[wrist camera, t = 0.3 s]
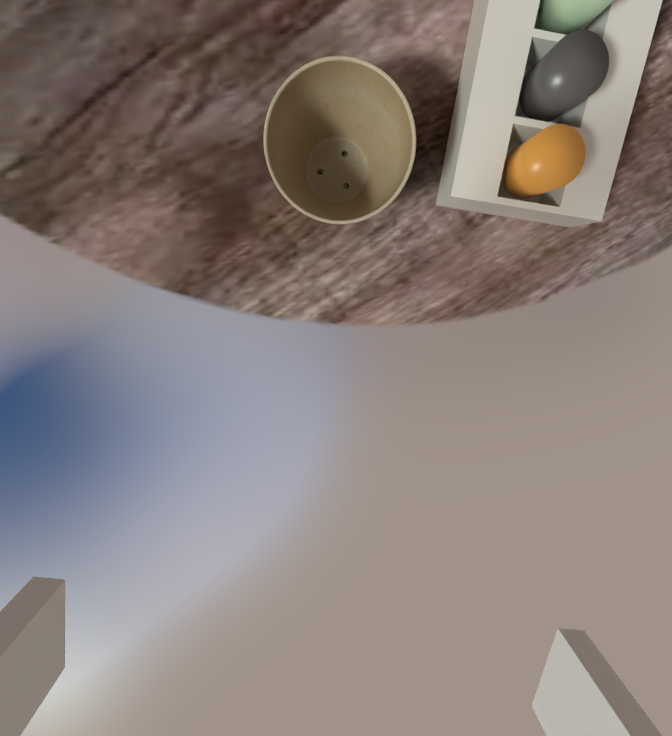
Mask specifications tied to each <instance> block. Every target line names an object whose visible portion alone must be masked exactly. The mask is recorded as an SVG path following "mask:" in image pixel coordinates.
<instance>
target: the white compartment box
mask: <svg viewBox="0 0 672 736" xmlns="http://www.w3.org/2000/svg"><path fill="white" fill-rule="evenodd" d="M662 1H663V0H614V1H613V2H612V3H611V4H610V5H609V6H608V7H606V8H605V9H604V10H603V11H602V12H601V13H600V14H599V15H598V16H597V17H596V18H595V19H594V20H593V21H592V22H590V23H589V24H588V25H587V26H586V27H585V28H584V29H583V30H589V31H592V32H594V33H596V34H597V35H599V36H600V37H601V38H602V40H603V41H604V43H605V44H606V47H607V49H608V53H609V68H608V72H607V75H606V78H605V80H604V82H603V83H602V85H601V86H600V87H599V89H598V90H597V91H596V92H594V93H593V94H592V95H590V96H589V97H587V98H586V99H584V100H583V101H581V102H580V103H578V104H577V105H575V106H574V107H572V108H571V109H569V110H568V111H566V112H565V113H563V114H562V115H560V116H559V117H557V118H556V119H554V120H552V121H549V122H545V121H540V120H534V119H530V118H528V117H527V116H526V115H525V113H524V112H523V110H522V108H521V105H520V102H519V95H520V90H521V85H522V81H523V78H524V76H525V75H526V74H527V72H528V71H529V70H530V69H531V68H532V67H533V66H534V65H535V64H536V63H537V62H538V61H539V60H540V59H541V58H543V57H544V56H545V55H546V54H547V53H548V52H549V51H550V50H551V49H552V48H553V47H554V46H555V45H556V44H557V43H558V42H559V41H560V40H561V39H562V38H563V37H564V36H566V35H564V34H559V33H554V32H549V31H544V30H543V29H542V27H541V25H540V23H539V19H538V8H539V3H540V0H474V4H473V9H472V15H471V20H470V25H469V31H468V36H467V41H466V46H465V52H464V57H463V62H462V68H461V73H460V78H459V84H458V89H457V94H456V100H455V105H454V110H453V116H452V121H451V126H450V132H449V137H448V142H447V148H446V153H445V158H444V164H443V169H442V174H441V180H440V185H439V190H438V196H437V201H436V205H437V206H443V207H449V208H455V209H461V210H467V211H473V212H479V213H485V214H491V215H497V216H503V217H510V218H516V219H522V220H528V221H534V222H540V223H546V224H552V225H558V226H564V227H575V226H580V225H585V224H590V223H595V222H600V221H602V218H603V215H604V211H605V207H606V204H607V200H608V196H609V193H610V189H611V186H612V182H613V178H614V175H615V171H616V167H617V164H618V160H619V157H620V153H621V149H622V146H623V142H624V138H625V135H626V131H627V128H628V124H629V120H630V117H631V113H632V109H633V106H634V102H635V99H636V95H637V91H638V88H639V84H640V80H641V77H642V73H643V70H644V66H645V62H646V59H647V55H648V51H649V48H650V44H651V41H652V37H653V33H654V30H655V26H656V22H657V19H658V15H659V12H660V8H661V4H662ZM555 124H565V125H569V126H571V127H573V128H574V129H576V130H577V131H578V132H579V134H580V135H581V136H582V138H583V141H584V144H585V149H586V155H585V161H584V164H583V167H582V169H581V171H580V173H579V174H578V175H577V177H576V178H575V179H574V180H573V181H571V182H570V183H569V184H567V185H565V186H562V187H560V188H557V189H554V190H552V191H549V192H546V193H543V194H541V195H538V196H535V197H533V198H529V199H520V198H517V197H514V196H513V195H511V194H510V193H509V192H508V191H507V189H506V188H505V186H504V184H503V180H502V172H503V168H504V163H505V159H506V157H507V156H508V154H509V153H510V152H511V151H512V150H513V149H514V148H516V147H517V146H519V145H521V144H522V143H524V142H525V141H527V140H528V139H530V138H531V137H533V136H534V135H536V134H537V133H539V132H540V131H542V130H543V129H545V128H547V127H549V126H551V125H555Z"/></svg>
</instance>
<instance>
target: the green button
mask: <svg viewBox="0 0 672 736" xmlns="http://www.w3.org/2000/svg"><path fill="white" fill-rule="evenodd" d="M613 1H614V0H540V3H539V8H538V19H539V23H540V25H541V27H542V29H543V30H544V31H549V32H554V33H559V34H564V35H567V34H569V33H571V32H573V31H576V30H583V29H584V28H585V27H586V26H587V25H588V24H589V23H590V22H592V21H593V20H594V19H595V18H596V17H597V16H598V15H599V14H600V13H601V12H602V11H603V10H604V9H605V8H606V7H608V6H609V5H610V4H611V3H612V2H613Z"/></svg>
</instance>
